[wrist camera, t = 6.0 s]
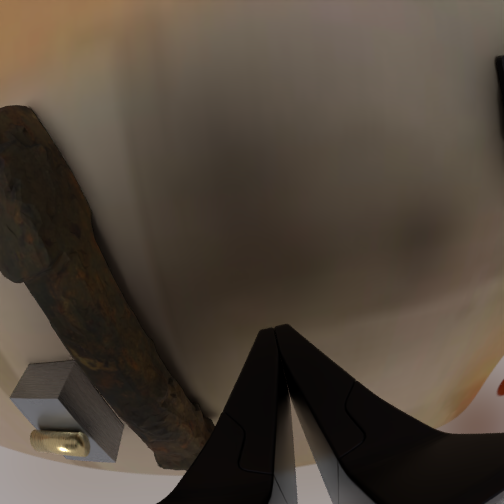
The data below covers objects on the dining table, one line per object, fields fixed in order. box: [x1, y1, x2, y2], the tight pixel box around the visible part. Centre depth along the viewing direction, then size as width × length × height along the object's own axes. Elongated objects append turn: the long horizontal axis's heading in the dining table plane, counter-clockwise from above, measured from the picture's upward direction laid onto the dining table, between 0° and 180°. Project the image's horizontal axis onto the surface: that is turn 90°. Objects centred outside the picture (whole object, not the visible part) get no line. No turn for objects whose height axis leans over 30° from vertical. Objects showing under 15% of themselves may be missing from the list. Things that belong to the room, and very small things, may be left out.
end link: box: [10, 360, 124, 463], centre depth 14 cm, size 4×6×4 cm, turn 13°
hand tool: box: [0, 105, 215, 471], centre depth 11 cm, size 19×4×5 cm, turn 15°
